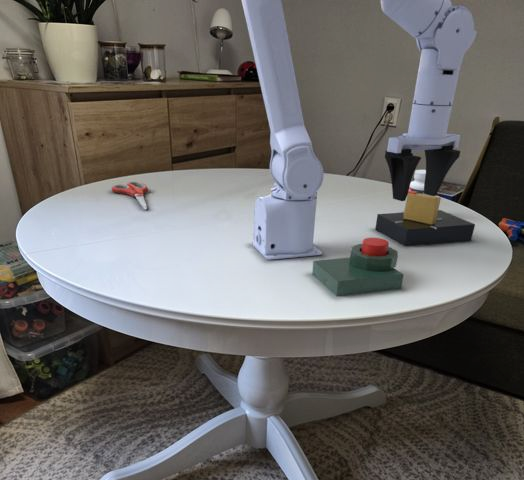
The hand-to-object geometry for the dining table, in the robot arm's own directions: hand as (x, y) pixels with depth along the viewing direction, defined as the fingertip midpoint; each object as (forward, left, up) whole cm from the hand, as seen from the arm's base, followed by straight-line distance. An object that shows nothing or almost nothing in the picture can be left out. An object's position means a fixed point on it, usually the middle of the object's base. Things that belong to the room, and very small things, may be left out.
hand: (414, 197), depth 79 cm
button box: (-16, -12, -8) cm, 22 cm away
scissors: (-40, +44, -8) cm, 60 cm away
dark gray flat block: (+7, +5, -8) cm, 12 cm away
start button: (-13, -11, -5) cm, 18 cm away
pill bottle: (+14, +17, -8) cm, 23 cm away
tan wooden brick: (+5, +4, -5) cm, 8 cm away
